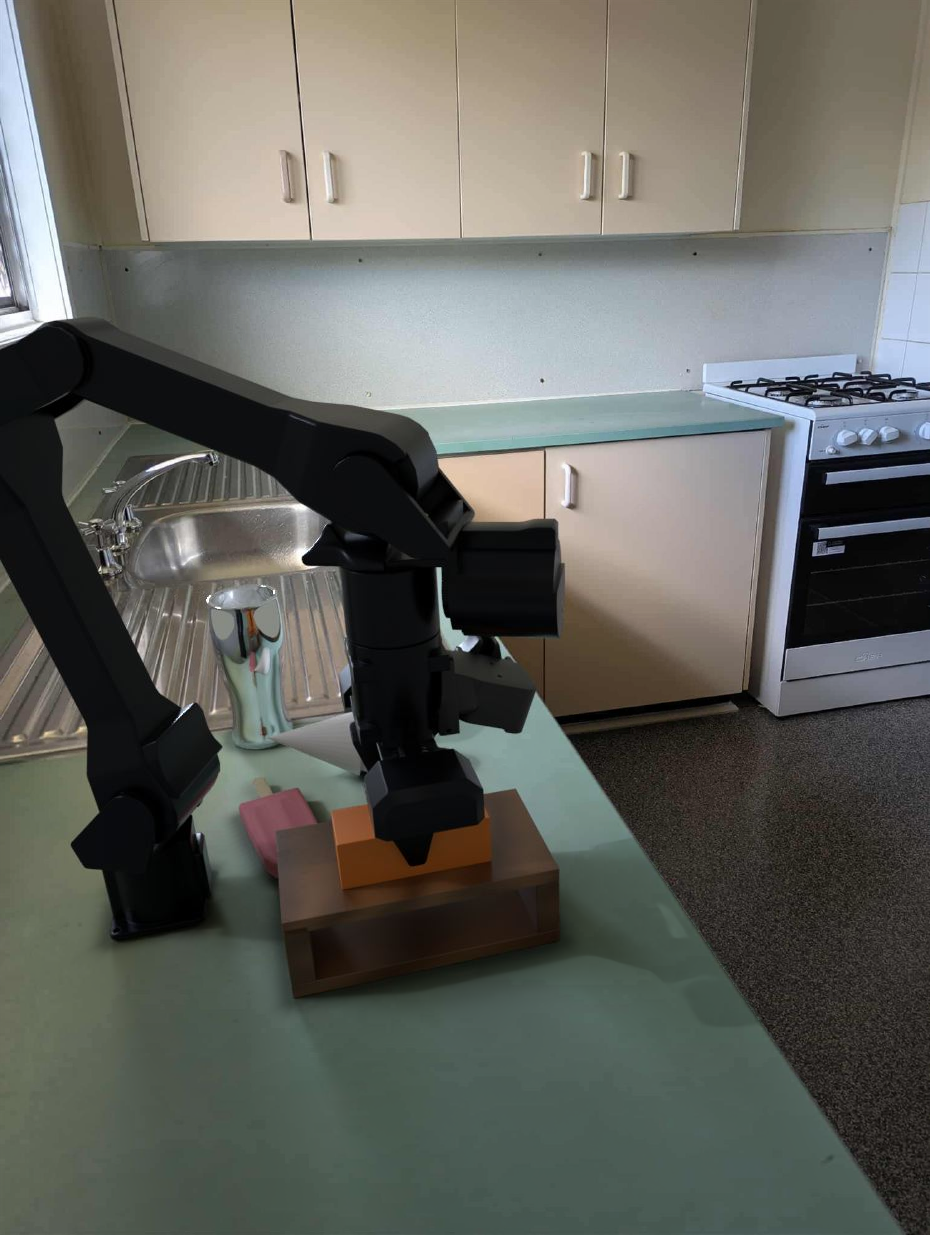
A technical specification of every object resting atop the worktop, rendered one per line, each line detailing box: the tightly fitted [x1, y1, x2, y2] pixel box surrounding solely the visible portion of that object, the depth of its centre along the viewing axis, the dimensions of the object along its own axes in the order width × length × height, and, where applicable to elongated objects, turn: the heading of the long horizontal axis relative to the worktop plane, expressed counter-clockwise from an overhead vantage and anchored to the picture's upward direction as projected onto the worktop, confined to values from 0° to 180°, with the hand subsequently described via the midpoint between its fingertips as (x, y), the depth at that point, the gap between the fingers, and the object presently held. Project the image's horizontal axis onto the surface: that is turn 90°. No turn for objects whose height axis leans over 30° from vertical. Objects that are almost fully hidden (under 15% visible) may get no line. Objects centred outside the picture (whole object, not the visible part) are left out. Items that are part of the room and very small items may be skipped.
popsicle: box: [238, 776, 319, 880], centre depth 73 cm, size 5×2×15 cm
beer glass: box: [206, 583, 295, 750], centre depth 86 cm, size 7×7×15 cm
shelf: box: [275, 788, 561, 999], centre depth 61 cm, size 18×10×6 cm, turn 104°
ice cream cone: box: [267, 712, 368, 776], centre depth 80 cm, size 6×6×15 cm
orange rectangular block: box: [330, 803, 492, 890], centre depth 58 cm, size 10×4×4 cm, turn 104°
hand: (411, 844), depth 59 cm, fingers closed on orange rectangular block, 4 cm apart
